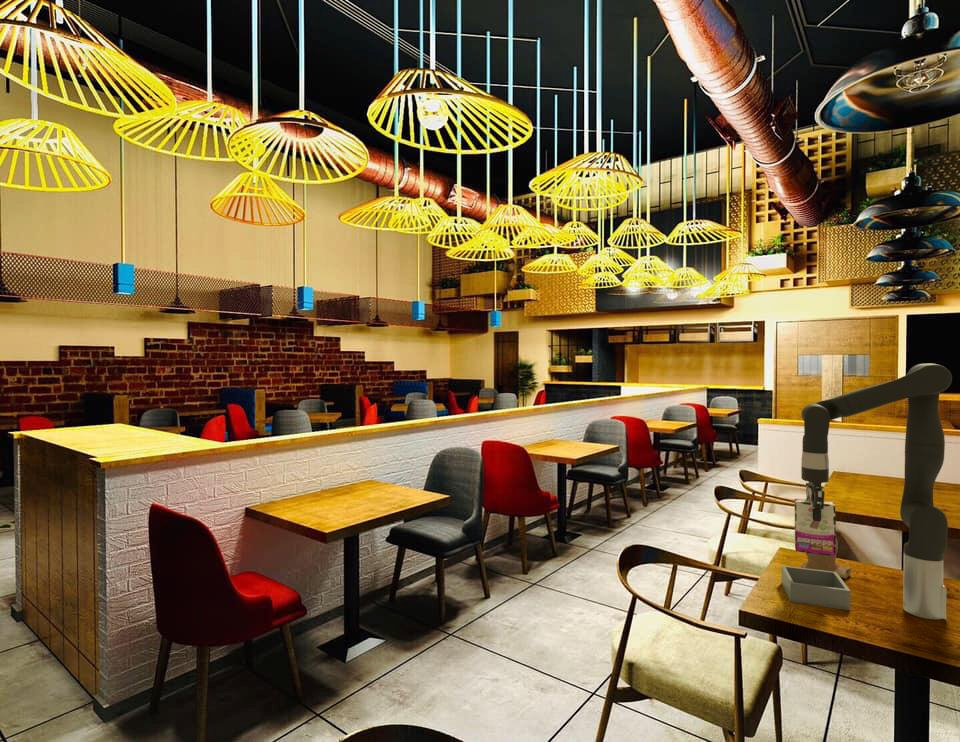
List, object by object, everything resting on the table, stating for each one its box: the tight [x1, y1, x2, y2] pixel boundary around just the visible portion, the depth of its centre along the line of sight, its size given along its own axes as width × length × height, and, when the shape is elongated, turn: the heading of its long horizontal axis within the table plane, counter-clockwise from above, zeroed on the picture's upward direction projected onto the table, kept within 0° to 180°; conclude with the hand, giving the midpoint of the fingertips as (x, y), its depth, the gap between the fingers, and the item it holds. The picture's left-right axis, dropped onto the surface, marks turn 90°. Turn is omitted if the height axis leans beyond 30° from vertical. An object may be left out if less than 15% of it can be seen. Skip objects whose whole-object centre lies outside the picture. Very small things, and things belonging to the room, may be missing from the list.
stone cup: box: [800, 538, 853, 579], centre depth 190 cm, size 15×12×15 cm
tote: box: [781, 565, 851, 611], centre depth 172 cm, size 16×16×6 cm
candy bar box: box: [794, 498, 837, 557], centre depth 172 cm, size 11×5×16 cm, turn 62°
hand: (814, 518), depth 172 cm, fingers closed on candy bar box, 5 cm apart
